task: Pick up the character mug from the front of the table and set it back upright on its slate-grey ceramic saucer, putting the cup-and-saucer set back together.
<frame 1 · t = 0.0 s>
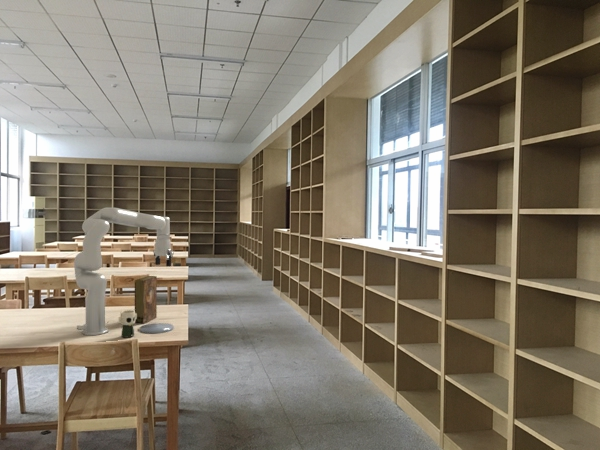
hand: (163, 265, 287), 31 cm above the table, tool pointing down, fingers open, 9 cm apart
saucer: (156, 328, 260), on the table
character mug: (127, 337, 245), on the table
book: (146, 320, 278), on the table
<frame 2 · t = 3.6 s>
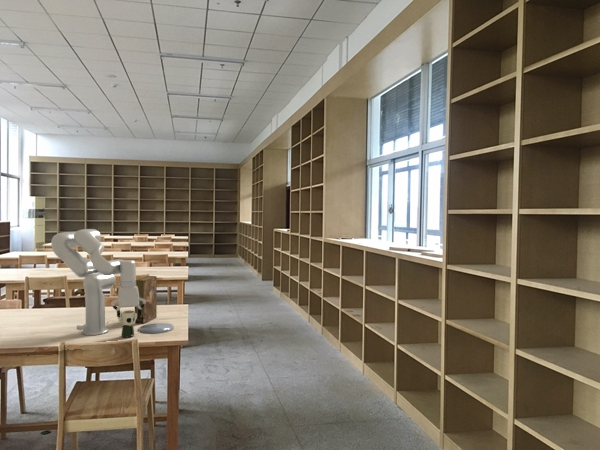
hand: (129, 317, 244), 10 cm above the table, tool pointing down, fingers open, 9 cm apart
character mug: (127, 337, 245), on the table, touching gripper
everything else where it was.
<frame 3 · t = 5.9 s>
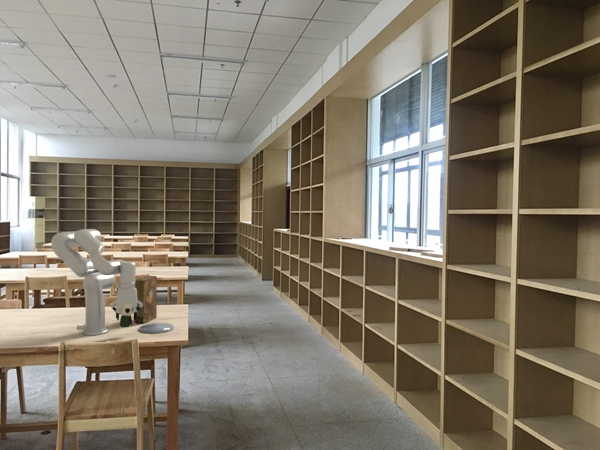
hand: (126, 319, 244), 9 cm above the table, tool pointing down, fingers closed on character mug, 7 cm apart
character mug: (125, 327, 245), point 5 cm above the table, touching gripper
everything else where it was.
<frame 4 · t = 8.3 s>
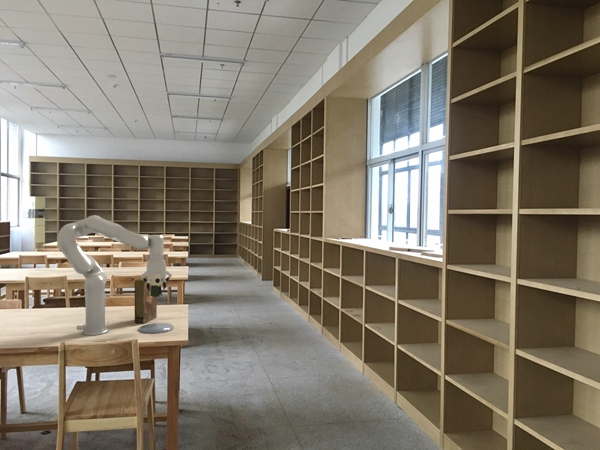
hand: (156, 289, 259), 22 cm above the table, tool pointing down, fingers closed on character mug, 7 cm apart
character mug: (156, 297, 259), point 18 cm above the table, touching gripper
everything else where it was.
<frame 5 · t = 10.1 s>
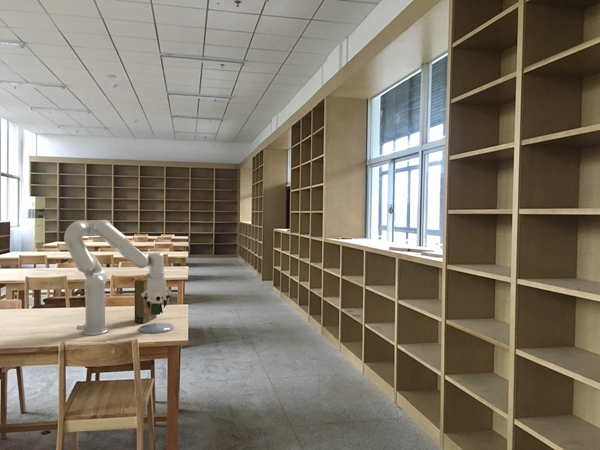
hand: (156, 307, 259), 12 cm above the table, tool pointing down, fingers closed on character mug, 7 cm apart
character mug: (156, 314, 260), point 8 cm above the table, touching gripper
everything else where it was.
when the fingers open (6 cm above the table, at t = 11.8 s): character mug drops 1 cm, resting on saucer.
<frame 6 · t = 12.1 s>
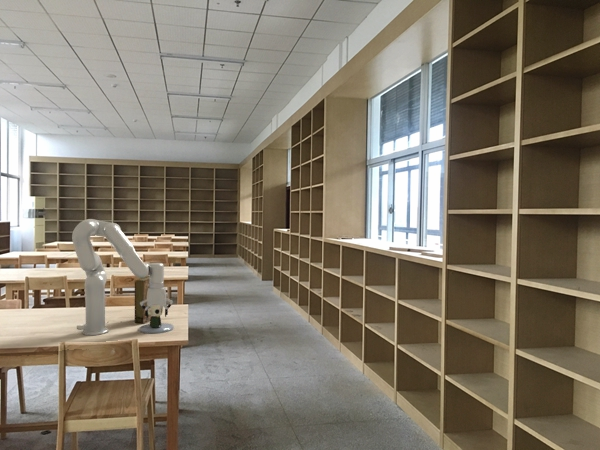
hand: (156, 316, 260), 7 cm above the table, tool pointing down, fingers open, 9 cm apart
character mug: (155, 327, 260), point 1 cm above the table, touching saucer
everything else where it was.
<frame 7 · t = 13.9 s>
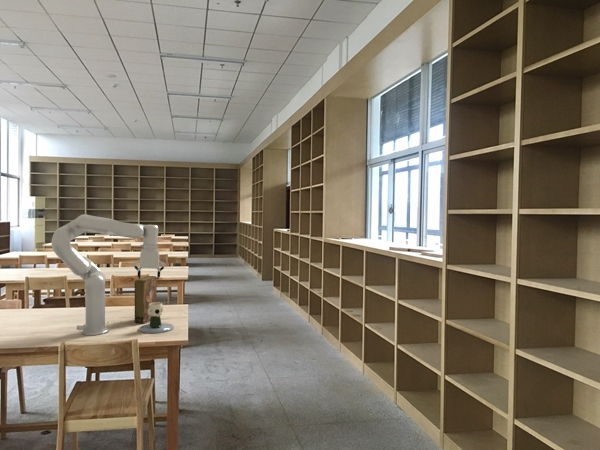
hand: (148, 278, 260), 28 cm above the table, tool pointing down, fingers open, 9 cm apart
nothing on the table moved.
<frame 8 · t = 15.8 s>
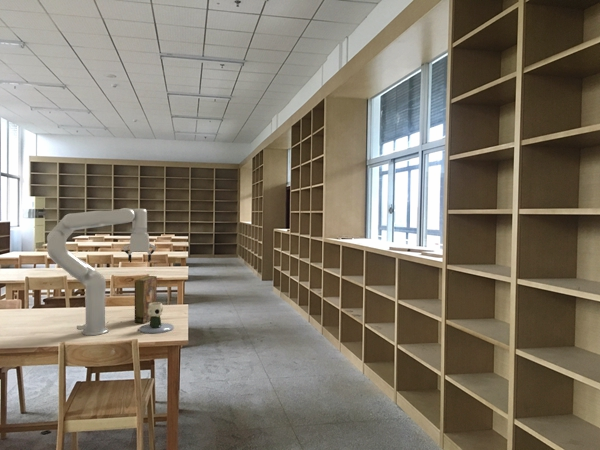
hand: (139, 262, 262), 36 cm above the table, tool pointing down, fingers open, 9 cm apart
nothing on the table moved.
at the end: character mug 0.6 cm from the saucer (horizontally); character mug touching saucer; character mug tilted 0° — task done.
